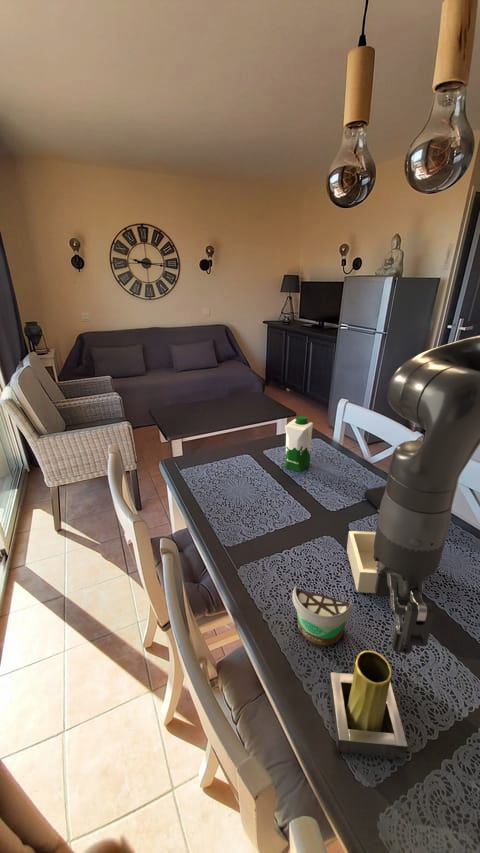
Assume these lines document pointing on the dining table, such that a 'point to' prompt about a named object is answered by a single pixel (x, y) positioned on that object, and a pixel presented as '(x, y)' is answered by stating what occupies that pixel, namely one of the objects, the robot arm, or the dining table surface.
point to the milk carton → (298, 443)
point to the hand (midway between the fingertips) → (390, 619)
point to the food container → (320, 616)
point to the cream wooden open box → (362, 560)
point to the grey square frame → (366, 740)
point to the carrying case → (375, 495)
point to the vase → (368, 692)
